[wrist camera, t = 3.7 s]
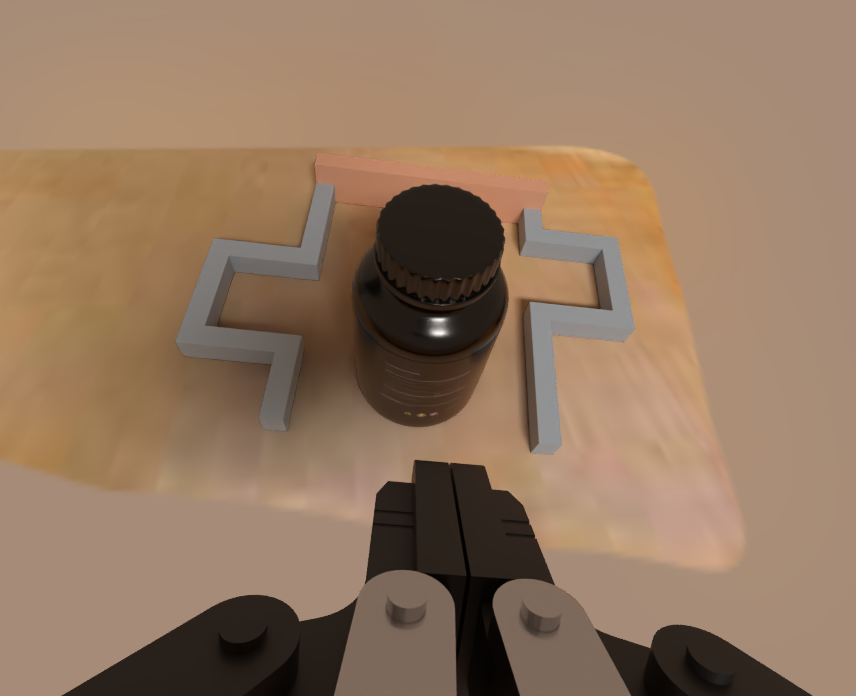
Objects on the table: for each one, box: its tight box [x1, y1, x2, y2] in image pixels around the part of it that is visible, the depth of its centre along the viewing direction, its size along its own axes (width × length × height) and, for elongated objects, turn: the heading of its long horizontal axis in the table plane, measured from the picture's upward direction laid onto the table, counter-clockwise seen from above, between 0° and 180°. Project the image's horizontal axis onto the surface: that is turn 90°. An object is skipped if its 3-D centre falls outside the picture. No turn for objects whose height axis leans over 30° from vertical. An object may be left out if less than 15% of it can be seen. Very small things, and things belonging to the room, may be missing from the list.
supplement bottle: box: [352, 184, 509, 427], centre depth 23 cm, size 7×7×12 cm
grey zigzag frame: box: [175, 152, 635, 455], centre depth 30 cm, size 26×18×3 cm
